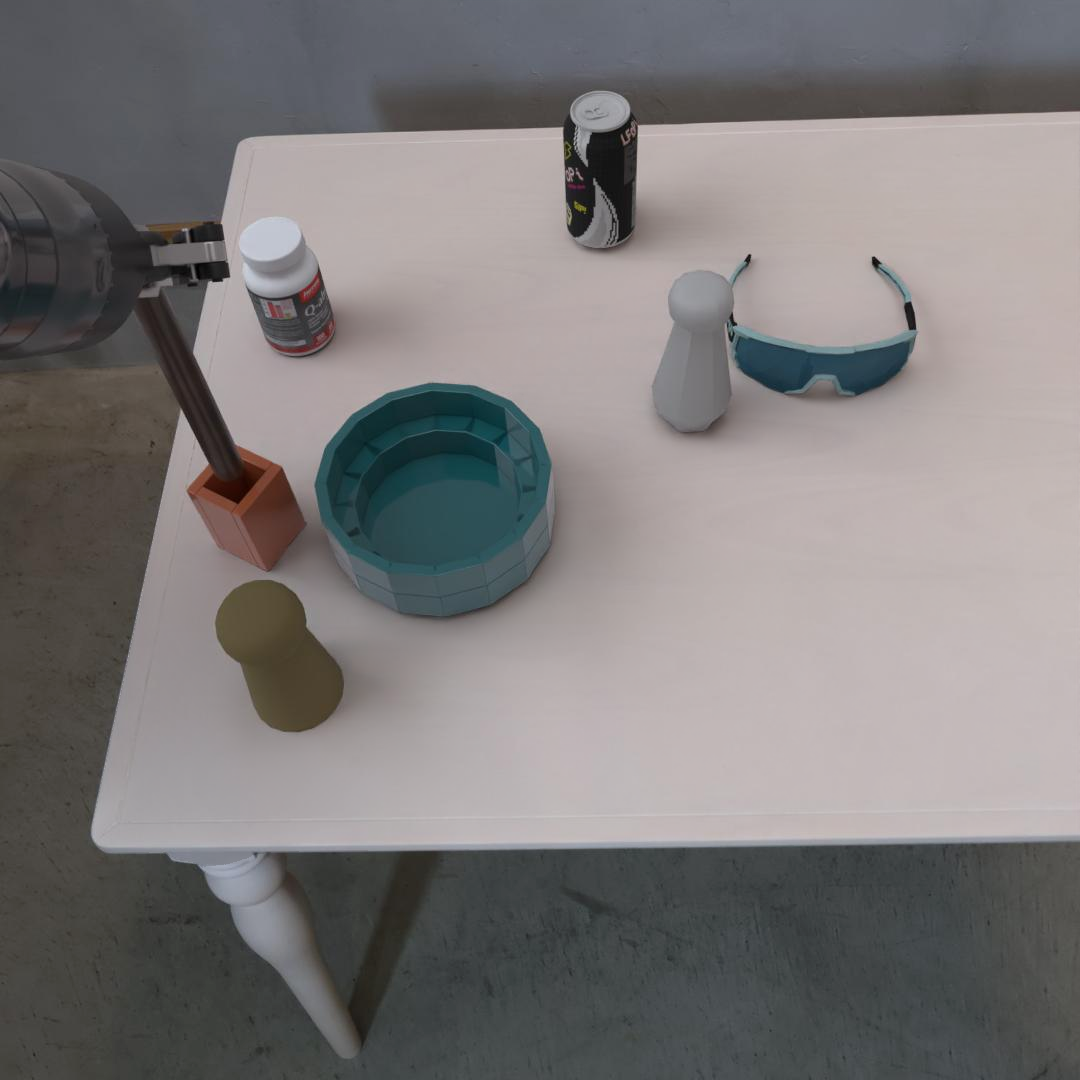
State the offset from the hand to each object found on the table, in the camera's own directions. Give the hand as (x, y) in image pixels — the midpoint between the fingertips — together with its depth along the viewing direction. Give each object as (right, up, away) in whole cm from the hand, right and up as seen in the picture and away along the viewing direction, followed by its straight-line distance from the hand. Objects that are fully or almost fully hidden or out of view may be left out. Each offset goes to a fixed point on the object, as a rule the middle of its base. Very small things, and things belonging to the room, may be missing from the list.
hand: (148, 267), depth 61 cm
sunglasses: (+43, +2, +27) cm, 51 cm away
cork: (+5, -25, +13) cm, 28 cm away
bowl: (+14, -14, +19) cm, 27 cm away
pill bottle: (+2, +2, +30) cm, 30 cm away
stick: (+1, -10, +12) cm, 16 cm away
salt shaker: (+32, -5, +23) cm, 40 cm away
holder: (+1, -14, +19) cm, 24 cm away
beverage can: (+26, +11, +34) cm, 44 cm away
